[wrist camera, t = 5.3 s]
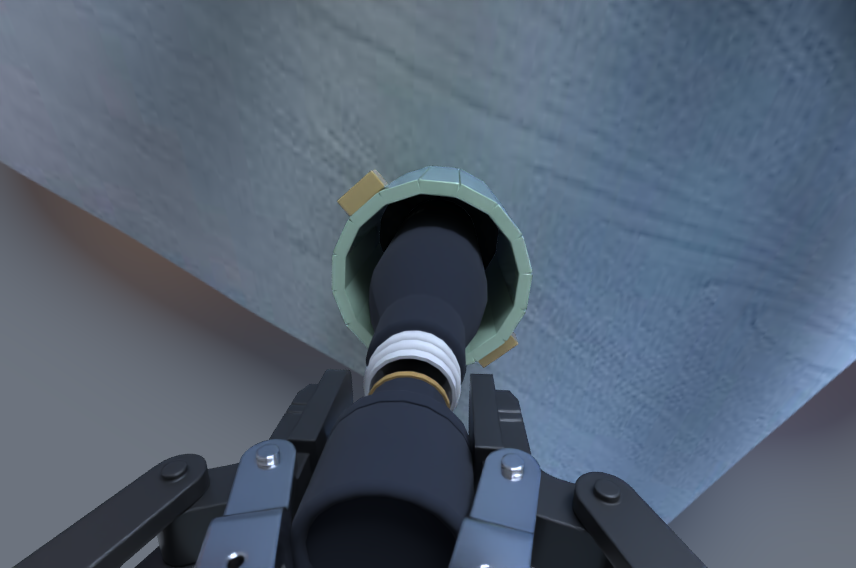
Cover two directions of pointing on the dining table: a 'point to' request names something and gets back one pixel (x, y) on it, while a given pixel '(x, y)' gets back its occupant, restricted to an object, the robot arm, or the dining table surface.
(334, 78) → the dining table surface
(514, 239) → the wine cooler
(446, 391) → the wine bottle
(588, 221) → the dining table surface
